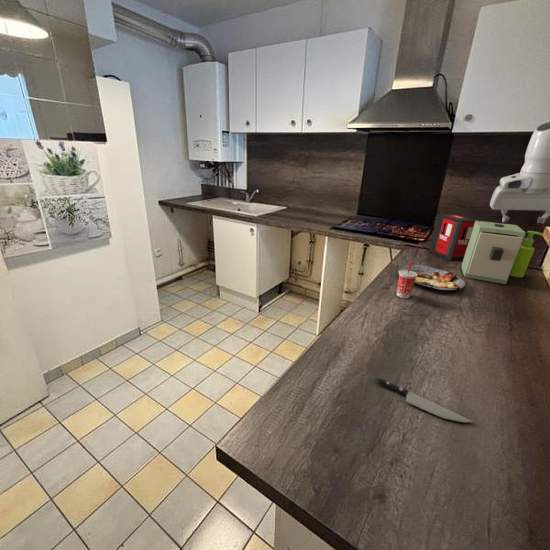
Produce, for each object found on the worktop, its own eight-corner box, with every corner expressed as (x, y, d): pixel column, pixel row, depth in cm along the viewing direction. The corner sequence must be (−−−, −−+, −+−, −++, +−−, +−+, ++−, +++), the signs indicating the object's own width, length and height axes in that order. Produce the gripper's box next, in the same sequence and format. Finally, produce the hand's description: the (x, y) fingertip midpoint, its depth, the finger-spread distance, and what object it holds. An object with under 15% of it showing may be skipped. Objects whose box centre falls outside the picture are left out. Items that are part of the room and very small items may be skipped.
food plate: (467, 280, 123) (470, 272, 121) (460, 300, 105) (463, 292, 104) (405, 265, 136) (407, 258, 135) (390, 281, 119) (392, 273, 117)
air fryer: (505, 284, 120) (526, 231, 111) (464, 276, 126) (480, 225, 117) (499, 272, 132) (517, 223, 123) (461, 266, 138) (475, 219, 129)
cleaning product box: (465, 260, 146) (478, 220, 139) (450, 260, 145) (462, 221, 137) (442, 249, 161) (452, 213, 153) (428, 250, 160) (438, 213, 152)
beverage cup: (413, 294, 108) (422, 259, 103) (410, 300, 104) (419, 264, 98) (396, 290, 112) (404, 255, 106) (392, 296, 107) (400, 260, 101)
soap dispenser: (524, 279, 126) (542, 234, 118) (505, 274, 130) (521, 230, 123) (527, 276, 129) (545, 232, 121) (509, 271, 134) (525, 228, 126)
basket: (508, 284, 115) (525, 240, 108) (468, 277, 121) (482, 235, 114) (499, 270, 130) (514, 230, 122) (464, 264, 135) (476, 226, 128)
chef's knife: (472, 434, 55) (473, 422, 57) (474, 430, 54) (475, 418, 57) (372, 387, 65) (376, 379, 67) (373, 384, 64) (377, 375, 66)
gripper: (576, 176, 89) (559, 220, 95) (494, 178, 97) (484, 218, 104) (584, 182, 84) (566, 227, 91) (498, 183, 92) (487, 224, 99)
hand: (522, 222), depth 97 cm, fingers open, 8 cm apart
